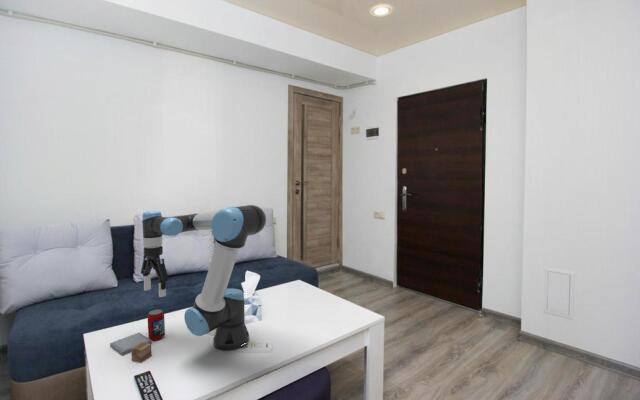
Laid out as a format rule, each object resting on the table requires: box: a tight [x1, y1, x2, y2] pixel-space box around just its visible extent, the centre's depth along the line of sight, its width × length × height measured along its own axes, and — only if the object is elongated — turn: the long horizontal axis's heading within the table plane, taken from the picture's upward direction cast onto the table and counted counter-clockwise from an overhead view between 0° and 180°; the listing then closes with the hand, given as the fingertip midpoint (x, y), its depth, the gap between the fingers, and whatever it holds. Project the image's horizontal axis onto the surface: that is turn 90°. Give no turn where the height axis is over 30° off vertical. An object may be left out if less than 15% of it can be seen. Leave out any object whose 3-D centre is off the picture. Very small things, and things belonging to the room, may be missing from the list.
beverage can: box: [147, 308, 166, 341], centre depth 150 cm, size 7×7×12 cm
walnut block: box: [130, 342, 153, 363], centre depth 133 cm, size 5×5×5 cm
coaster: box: [109, 332, 153, 356], centre depth 143 cm, size 12×12×2 cm
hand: (154, 293), depth 149 cm, fingers open, 13 cm apart
